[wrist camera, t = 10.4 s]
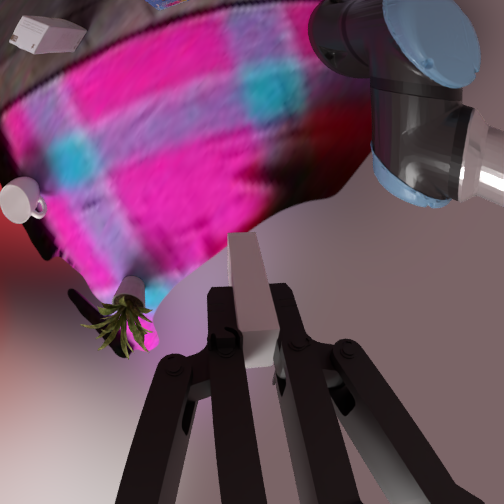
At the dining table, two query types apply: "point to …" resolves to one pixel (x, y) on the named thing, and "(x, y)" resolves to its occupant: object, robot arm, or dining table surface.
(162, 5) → the ink cartridge box
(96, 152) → the dining table surface
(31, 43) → the skincare box
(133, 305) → the house plant
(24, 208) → the cup
